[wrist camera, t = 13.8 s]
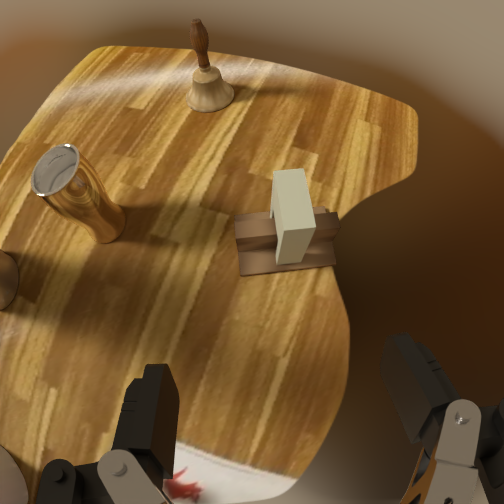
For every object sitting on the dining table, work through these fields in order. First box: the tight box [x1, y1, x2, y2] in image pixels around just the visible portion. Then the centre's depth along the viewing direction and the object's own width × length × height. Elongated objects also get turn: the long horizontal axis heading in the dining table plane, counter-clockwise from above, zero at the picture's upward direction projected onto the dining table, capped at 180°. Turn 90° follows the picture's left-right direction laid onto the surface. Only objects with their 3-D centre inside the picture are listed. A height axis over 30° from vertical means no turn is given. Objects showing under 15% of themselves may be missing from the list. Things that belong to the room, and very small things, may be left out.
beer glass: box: [31, 144, 126, 243], centre depth 35 cm, size 7×7×15 cm
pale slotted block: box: [270, 168, 316, 265], centre depth 35 cm, size 6×3×11 cm, turn 7°
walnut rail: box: [234, 206, 340, 276], centre depth 38 cm, size 12×8×5 cm, turn 96°
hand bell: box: [186, 19, 234, 112], centre depth 42 cm, size 8×8×16 cm
